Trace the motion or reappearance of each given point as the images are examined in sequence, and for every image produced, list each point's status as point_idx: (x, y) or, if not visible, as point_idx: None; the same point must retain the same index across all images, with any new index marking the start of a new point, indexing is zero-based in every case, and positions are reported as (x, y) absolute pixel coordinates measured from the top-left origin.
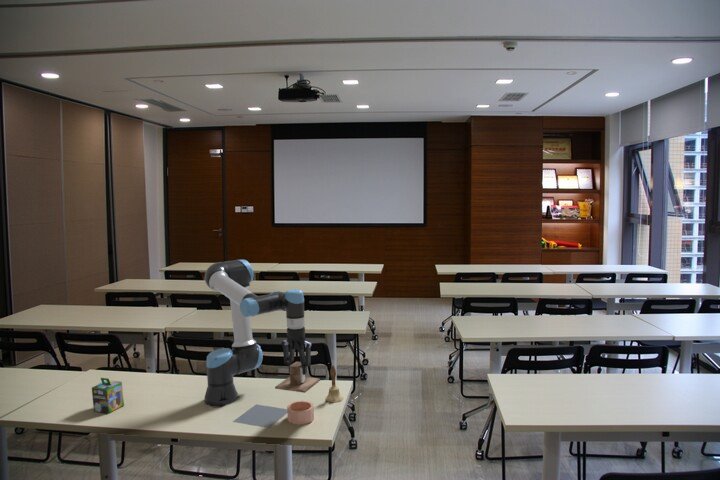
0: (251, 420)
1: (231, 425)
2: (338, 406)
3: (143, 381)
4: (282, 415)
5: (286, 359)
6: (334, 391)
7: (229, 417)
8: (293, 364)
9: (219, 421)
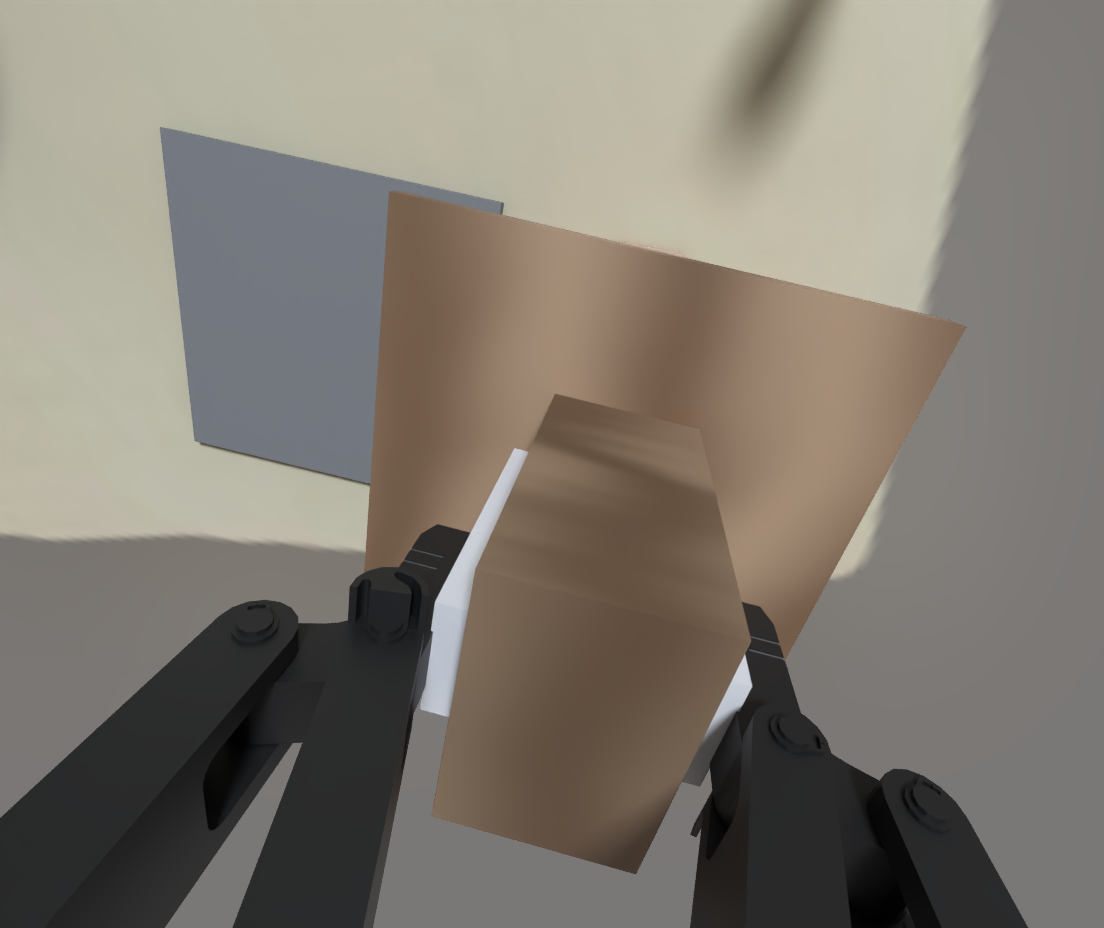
0: (297, 418)
1: (216, 466)
2: (978, 3)
3: None
4: None
5: (234, 825)
6: None
7: (129, 365)
8: (477, 745)
9: (114, 423)
